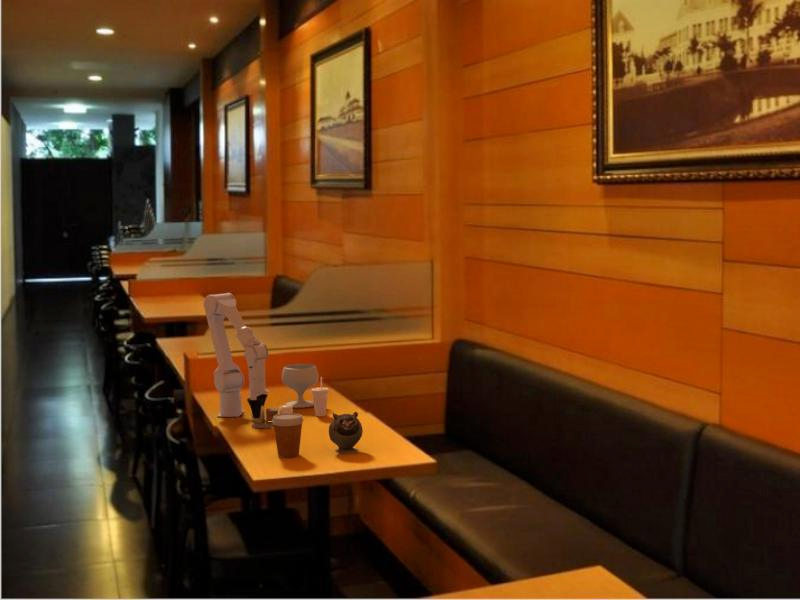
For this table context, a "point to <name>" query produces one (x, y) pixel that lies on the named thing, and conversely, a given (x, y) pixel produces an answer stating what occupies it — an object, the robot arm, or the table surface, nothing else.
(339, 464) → the table surface
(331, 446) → the table surface
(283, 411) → the cream small rounded lump
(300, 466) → the table surface
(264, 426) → the slate coaster
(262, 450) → the table surface
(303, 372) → the chalice
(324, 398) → the smoothie
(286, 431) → the disposable coffee cup
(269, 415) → the walnut block
